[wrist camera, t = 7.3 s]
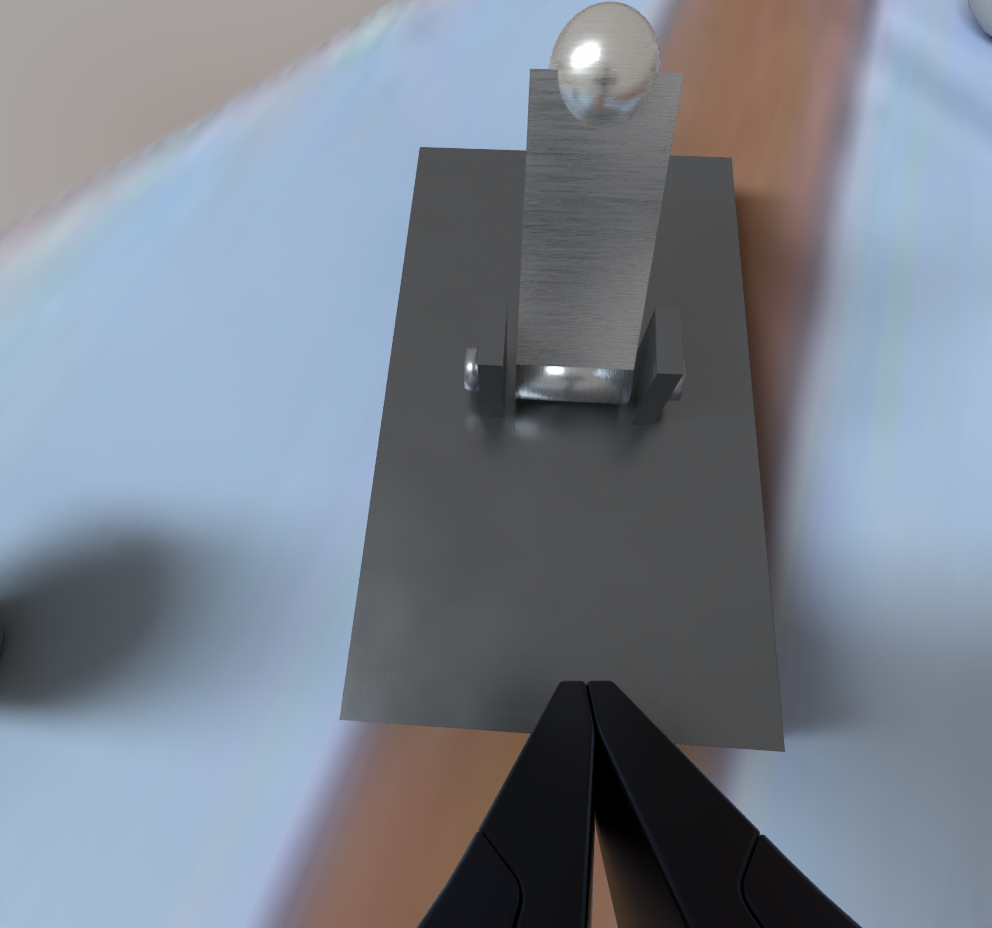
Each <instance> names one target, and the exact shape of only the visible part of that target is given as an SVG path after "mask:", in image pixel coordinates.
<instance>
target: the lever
mask: <svg viewBox="0 0 992 928" xmlns="http://www.w3.org/2000/svg"><path fill="white" fill-rule="evenodd" d="M682 79H683V73H660V50H659V45H658V41H657V37H656V35H655V33H654V30H653V28H652V27H651V25H650V23H649V22H648V21H647V19H646V18H645V17H644V16H643V15H642V14H641V13H640V12H639V11H637V10H636V9H634V8H633V7H631V6H628V5H626V4H623V3H619V2H602V3H597V4H594V5H591V6H589V7H587V8H585V9H583V10H582V11H580V12H579V13H578V14H576V15H575V16H574V17H573V18H572V19H571V20H570V21H569V22H568V23H567V24H566V26H565V27H564V28H563V30H562V31H561V33H560V34H559V36H558V38H557V40H556V42H555V45H554V48H553V50H552V54H551V58H550V64H549V69H530V84H529V106H528V127H527V148H526V169H525V191H524V212H523V233H522V254H521V276H520V297H519V318H518V340H517V361H516V380H515V399H530V400H550V401H570V402H590V403H610V404H627V403H628V401H629V399H630V395H631V390H632V384H633V374H634V366H635V360H636V354H637V348H638V342H639V336H640V330H641V324H642V318H643V312H644V306H645V300H646V294H647V288H648V282H649V276H650V270H651V264H652V258H653V252H654V246H655V240H656V234H657V228H658V222H659V216H660V210H661V204H662V198H663V192H664V186H665V180H666V174H667V168H668V162H669V156H670V150H671V144H672V138H673V132H674V126H675V120H676V114H677V108H678V102H679V96H680V90H681V85H682Z"/></svg>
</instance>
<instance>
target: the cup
mask: <svg viewBox="0 0 992 928" xmlns="http://www.w3.org/2000/svg"><path fill="white" fill-rule="evenodd" d="M2 642H3V634H2V628H1V625H0V652H1V648H2Z"/></svg>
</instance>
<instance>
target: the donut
mask: <svg viewBox="0 0 992 928" xmlns="http://www.w3.org/2000/svg"><path fill="white" fill-rule="evenodd" d="M968 5H969V8H970V10H971V11H972V13H973V14H974V16H975V18H976V19H977V21H978V22H979V24H980V26H981V27H982V29H983V30H984V32H986V33H987V34H989V35H990V36H992V0H968Z"/></svg>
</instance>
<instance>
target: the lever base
mask: <svg viewBox="0 0 992 928" xmlns="http://www.w3.org/2000/svg"><path fill="white" fill-rule="evenodd" d="M525 169H526V151H519V150H490V149H460V148H431V147H420V151H419V158H418V165H417V172H416V179H415V186H414V193H413V201H412V208H411V215H410V222H409V229H408V236H407V243H406V250H405V258H404V265H403V272H402V279H401V286H400V293H399V300H398V307H397V315H396V322H395V329H394V336H393V343H392V350H391V357H390V364H389V372H388V379H387V386H386V393H385V400H384V407H383V414H382V421H381V429H380V436H379V443H378V450H377V457H376V464H375V471H374V478H373V486H372V493H371V500H370V507H369V514H368V521H367V528H366V535H365V543H364V550H363V557H362V564H361V571H360V578H359V585H358V592H357V600H356V607H355V614H354V621H353V628H352V635H351V642H350V649H349V657H348V664H347V671H346V678H345V685H344V692H343V699H342V707H341V714H340V720H352V721H366V722H380V723H394V724H407V725H421V726H435V727H449V728H463V729H477V730H491V731H505V732H518V733H532V731H533V729H534V727H535V726H536V724H537V722H538V720H539V718H540V717H541V715H542V713H543V711H544V709H545V707H546V706H547V704H548V702H549V700H550V698H551V697H552V695H553V693H554V691H555V689H556V687H557V686H558V684H559V683H560V682H561V681H583V682H585V684H586V685H587V683H588V682H589V681H604V680H609V681H612V682H614V683H615V684H616V685H617V686H618V687H619V688H620V689H621V690H622V691H623V692H624V693H625V694H626V695H627V696H628V697H629V698H630V699H631V700H632V701H633V702H634V703H635V704H636V705H637V707H638V708H639V709H640V710H641V711H642V712H643V713H644V714H645V715H646V716H647V717H648V718H649V719H650V720H651V721H652V722H653V723H654V724H655V725H656V726H657V727H658V728H659V729H660V730H661V731H662V732H663V733H664V734H665V735H666V736H667V737H668V738H669V739H670V740H671V741H672V742H673V743H674V744H685V745H699V746H713V747H727V748H740V749H754V750H768V751H782V752H785V748H784V737H783V726H782V715H781V704H780V692H779V681H778V670H777V659H776V648H775V637H774V626H773V614H772V603H771V592H770V581H769V570H768V559H767V548H766V537H765V525H764V514H763V503H762V492H761V481H760V470H759V459H758V447H757V436H756V425H755V414H754V403H753V392H752V381H751V369H750V358H749V347H748V336H747V325H746V314H745V303H744V291H743V280H742V269H741V258H740V247H739V236H738V225H737V214H736V202H735V191H734V180H733V169H732V158H725V157H696V156H669V162H668V168H667V174H666V180H665V186H664V192H663V198H662V204H661V210H660V216H659V222H658V228H657V234H656V240H655V246H654V252H653V258H652V264H651V270H650V276H649V282H648V288H647V294H646V300H645V306H644V312H643V318H642V324H641V330H640V336H639V342H638V348H637V354H636V360H635V366H634V374H633V384H632V390H631V395H630V399H629V401H628V403H627V404H610V403H590V402H570V401H550V400H530V399H515V380H516V361H517V340H518V318H519V297H520V276H521V254H522V233H523V212H524V191H525Z"/></svg>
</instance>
